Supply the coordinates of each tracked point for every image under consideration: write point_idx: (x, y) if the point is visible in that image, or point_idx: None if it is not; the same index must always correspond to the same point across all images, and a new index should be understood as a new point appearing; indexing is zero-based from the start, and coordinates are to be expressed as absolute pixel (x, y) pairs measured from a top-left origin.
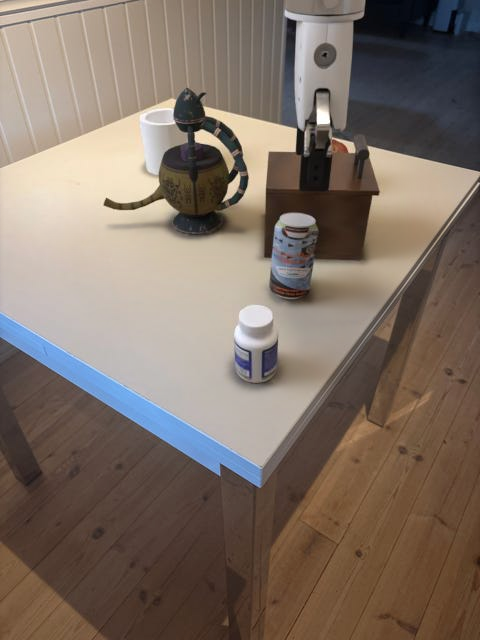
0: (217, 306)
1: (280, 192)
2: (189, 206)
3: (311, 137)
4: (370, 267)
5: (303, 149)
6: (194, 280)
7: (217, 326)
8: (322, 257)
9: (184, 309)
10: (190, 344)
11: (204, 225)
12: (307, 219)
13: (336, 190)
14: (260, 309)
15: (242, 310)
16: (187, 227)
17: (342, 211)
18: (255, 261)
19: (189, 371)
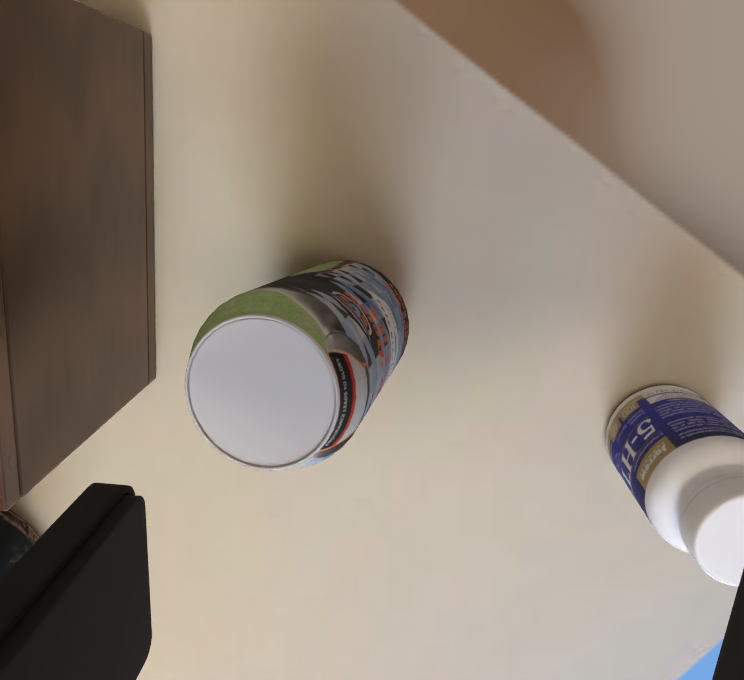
0: (402, 515)
1: (13, 440)
2: None
3: (74, 671)
4: (196, 4)
5: (130, 638)
6: (283, 570)
7: (485, 516)
8: (151, 184)
9: (410, 591)
10: (547, 576)
11: (14, 560)
12: (252, 349)
13: None
14: (723, 526)
15: (717, 576)
16: None
17: (44, 126)
18: (181, 405)
19: (641, 577)
